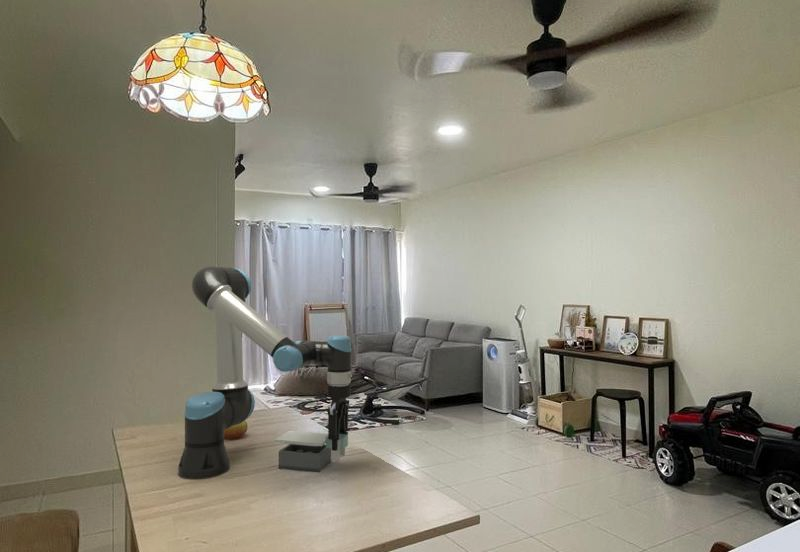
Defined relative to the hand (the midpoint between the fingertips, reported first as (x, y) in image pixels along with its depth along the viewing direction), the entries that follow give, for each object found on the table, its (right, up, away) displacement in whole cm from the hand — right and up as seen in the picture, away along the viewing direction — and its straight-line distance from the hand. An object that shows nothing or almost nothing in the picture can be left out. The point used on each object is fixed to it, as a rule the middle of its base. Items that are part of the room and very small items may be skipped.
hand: (338, 457), depth 159 cm
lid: (-8, +3, +2) cm, 9 cm away
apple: (-44, -5, +33) cm, 55 cm away
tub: (-11, -3, +3) cm, 12 cm away
